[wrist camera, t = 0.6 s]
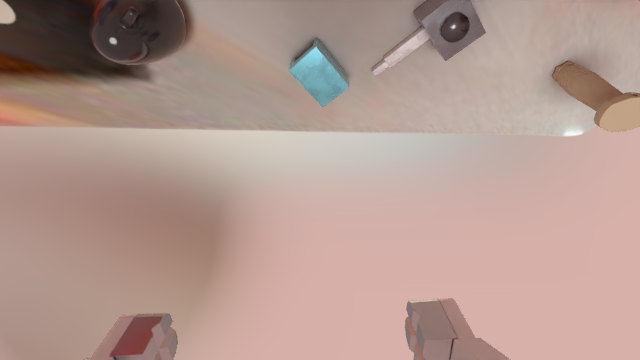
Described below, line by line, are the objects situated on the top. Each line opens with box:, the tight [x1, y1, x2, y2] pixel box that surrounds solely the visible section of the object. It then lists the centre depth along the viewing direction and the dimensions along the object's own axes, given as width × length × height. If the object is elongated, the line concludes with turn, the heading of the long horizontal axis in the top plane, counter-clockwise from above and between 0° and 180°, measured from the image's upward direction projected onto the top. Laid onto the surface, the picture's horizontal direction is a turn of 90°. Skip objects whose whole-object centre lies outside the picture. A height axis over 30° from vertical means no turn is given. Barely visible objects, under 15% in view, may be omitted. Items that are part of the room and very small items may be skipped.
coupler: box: [372, 0, 486, 76], centre depth 47 cm, size 16×7×6 cm, turn 131°
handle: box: [553, 62, 640, 132], centre depth 47 cm, size 5×6×15 cm
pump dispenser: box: [89, 0, 186, 65], centre depth 42 cm, size 10×10×15 cm
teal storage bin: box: [289, 38, 349, 107], centre depth 51 cm, size 8×6×4 cm
